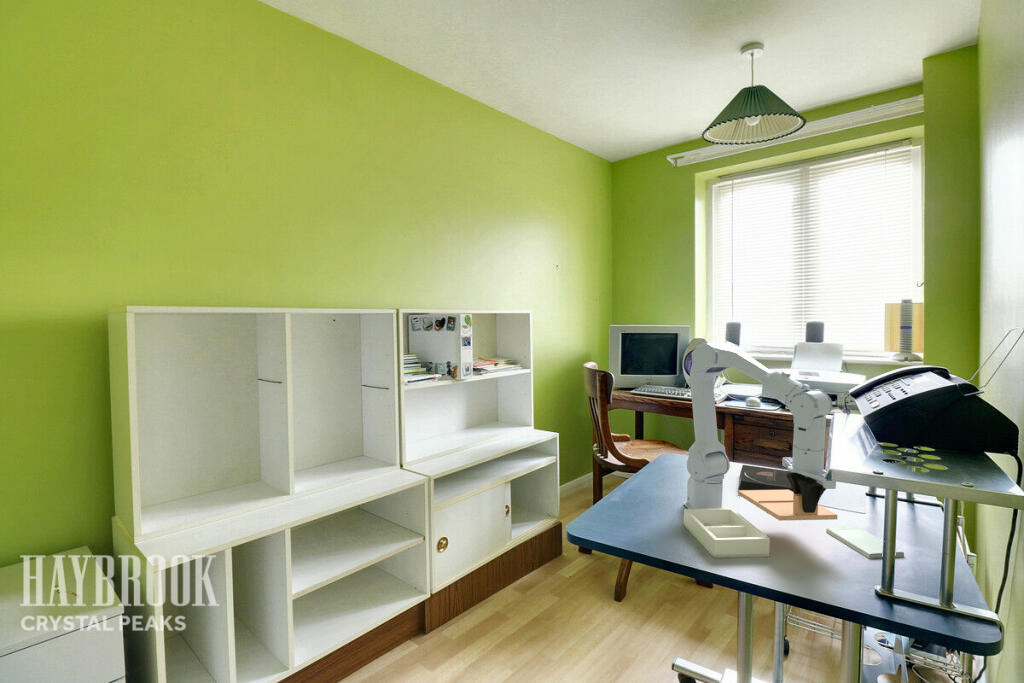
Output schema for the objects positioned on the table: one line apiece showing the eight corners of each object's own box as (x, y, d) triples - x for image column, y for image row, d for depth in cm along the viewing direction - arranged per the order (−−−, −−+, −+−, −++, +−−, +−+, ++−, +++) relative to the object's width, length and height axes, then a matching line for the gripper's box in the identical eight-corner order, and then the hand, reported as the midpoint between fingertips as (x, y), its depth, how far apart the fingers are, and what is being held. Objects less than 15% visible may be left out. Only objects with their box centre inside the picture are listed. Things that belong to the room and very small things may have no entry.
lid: (738, 494, 121) (738, 474, 121) (788, 493, 122) (788, 473, 122) (779, 520, 104) (779, 497, 104) (837, 519, 105) (837, 496, 105)
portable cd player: (740, 476, 157) (740, 464, 156) (802, 485, 149) (803, 472, 149) (738, 493, 142) (738, 480, 142) (807, 505, 134) (807, 490, 134)
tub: (683, 524, 120) (684, 508, 120) (731, 523, 121) (731, 508, 121) (714, 558, 104) (714, 539, 104) (769, 556, 105) (769, 538, 105)
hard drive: (904, 551, 106) (858, 525, 118) (869, 553, 105) (826, 527, 117) (904, 559, 106) (857, 532, 118) (868, 561, 105) (825, 534, 117)
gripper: (770, 438, 112) (767, 497, 113) (813, 458, 97) (810, 525, 98) (800, 438, 112) (797, 496, 113) (847, 457, 98) (843, 524, 99)
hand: (805, 509), depth 106 cm, fingers closed on lid
